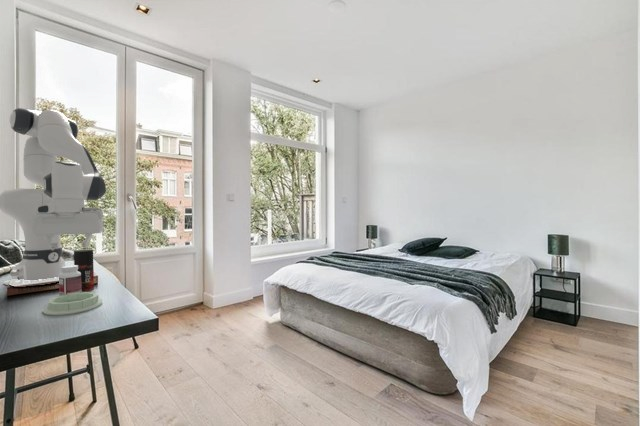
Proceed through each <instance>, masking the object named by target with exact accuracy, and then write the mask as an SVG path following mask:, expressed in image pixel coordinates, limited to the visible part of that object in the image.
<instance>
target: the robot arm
mask: <svg viewBox="0 0 640 426" xmlns="http://www.w3.org/2000/svg"><path fill="white" fill-rule="evenodd" d="M9 124H10V127H11V129H12V130H13V131H14V133H15V132H16V133H18V134H20V135H23V136H24V135H26V136H30V137H29V138H27V139H26V141H25V144H24V149H23V176H24V177H25V179H26V180H27V181H29V182H31V183H32V184H36V185H38V186H40V187H41V188H12V189H6V190H4V191H2V192H1V193H0V210H1V212H2V213H4V214H6V215H7V216H9V217H11V218H12V219H13V220H15V221H16V222H17V223H18V224H19V225H20V227H21V229H22V232H23V234H24V243H25V244H24V245H25V249H24V250H23V251H21V253H22V260H21V261H20V262H19V263H17V264H16V265H15V266H14V267H13V268H12V269H11V270H10V276H11V279H18V280H20V279H24V280H38V279H47V278H54V277H59V275H60V274H61V273H62V271H61V267H63V266H66V261H65V259H64V258H63V257H62V256H63V247H61V245H62V244H61V242H62V240H61V235H82V234H83V235H84V238H85V239H84V241H81V248H87V247H89V244H90V241H91V239H92V238H93V234H94V235H95V234H101V233H103V232H104V221H103V218H104V212H103V209H101V208H98V207H85V200H87V201H98V200H101V198H103V197H104V196H105V195H106V191H107V185H106V183H105V180H104V178H103V177H102V175H101V174H100V172H99V170H98V168H97V166H96V164H95V162H94V160H93V158H92V156H91V154H90V151H89V150H88V148H87V147H86V146H85V145H84V144H82V143H81V142H79V141H78V140H77V137H78V135H79V127H78V124H77V122H76V121H75V120H73V119H70V118H68V117H66V115H65V114H64V113H62V112H60V111H58V110H54V109H45V110H43V111H38V110H34V109H29V108H22V107H18V108H15V109H14V110H12V112H11V114H10V116H9ZM58 157H59V158H62V159H63V158H64V159H67V160H70V161H63V160H62V161H60V160H59V161H58ZM11 279H8V280H4V281H3V285H6V286H9V285H8V284H9V281H10V280H11Z"/></svg>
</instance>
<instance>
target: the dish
mask: <svg viewBox="0 0 640 426" xmlns="http://www.w3.org/2000/svg"><path fill="white" fill-rule="evenodd" d="M47 301H48V302H47V305H46V306H44V308H42V314H44V315H47V316H65V315H72V314H77V313H79V314H80V313H83V312H87V311H90V310H94V309H97V308H98V307H101V306H102V305H103V299H102V298H100V297H99V295H98V293H97V292H91V291H82V292H81V293H73V294H66V295H62V296H59V295H58V296H54V297H52V298H50V299H48V300H47Z"/></svg>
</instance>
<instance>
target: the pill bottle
mask: <svg viewBox="0 0 640 426" xmlns="http://www.w3.org/2000/svg"><path fill="white" fill-rule="evenodd" d="M77 270H78V265H74V264H73V265H65V266H63V267H61V271H62V273H61V274H60V275H59V283H58V289H59V290H58V291H59V293H58V294H59V295H58V296H62V295H66V294H73V293H81V292H83V291H82V288H81V273H80V272H79V271H77Z"/></svg>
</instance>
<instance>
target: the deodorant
mask: <svg viewBox="0 0 640 426" xmlns="http://www.w3.org/2000/svg"><path fill="white" fill-rule="evenodd" d="M73 265H78V270H77V271H79V272H80V273H81V288H82V292H89V291H91V290H94V289H95V278H94V277H95V275H94V271H95V270H94V250H93V249H91V248H90V249H89V248H88V249H78V250H73Z"/></svg>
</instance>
